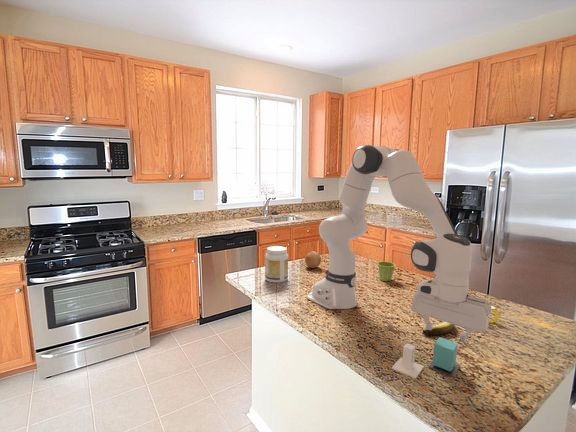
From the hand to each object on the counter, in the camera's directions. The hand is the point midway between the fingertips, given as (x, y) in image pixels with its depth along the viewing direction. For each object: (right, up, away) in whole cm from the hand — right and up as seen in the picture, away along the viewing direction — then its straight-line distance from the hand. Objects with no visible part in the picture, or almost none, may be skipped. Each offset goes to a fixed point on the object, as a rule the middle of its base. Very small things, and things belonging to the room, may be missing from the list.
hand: (445, 334), depth 96 cm
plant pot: (+6, +1, +78) cm, 78 cm away
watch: (+33, -7, +32) cm, 47 cm away
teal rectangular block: (0, -9, +1) cm, 9 cm away
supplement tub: (-53, +1, +75) cm, 92 cm away
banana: (+10, -8, +25) cm, 28 cm away
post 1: (-11, -10, 0) cm, 15 cm away
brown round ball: (-32, +4, +97) cm, 102 cm away
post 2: (0, -10, +1) cm, 10 cm away
